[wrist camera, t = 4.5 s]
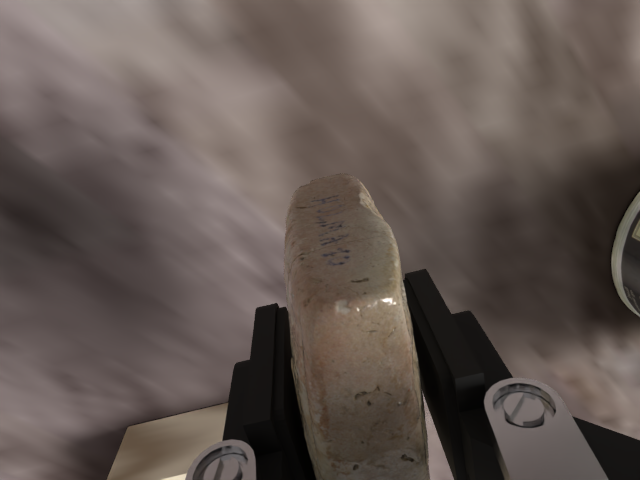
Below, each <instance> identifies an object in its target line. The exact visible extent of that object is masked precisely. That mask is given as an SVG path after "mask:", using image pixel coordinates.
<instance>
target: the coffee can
mask: <svg viewBox="0 0 640 480" xmlns="http://www.w3.org/2000/svg"><path fill="white" fill-rule="evenodd" d="M611 269H612V277H613V281H614V285H615V287H616V290H617V292H618V295H619V296H620V298H621V300H622V301H623V302H624V303H625V305H626V306H627V307H628V308H629V309H630V310H631V311H633V312H634V313H635V314H637V315H638V316H639V317H640V192H639V193H638V194H637V195H636V197H635V198H634V200H633V201H632V203H631V204H630V206H629V207H628V209H627V211H626V213H625V215H624V217H623V219H622V221H621V223H620V225H619V227H618V229H617V233H616V238H615V241H614V245H613V249H612V257H611Z"/></svg>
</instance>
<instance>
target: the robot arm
mask: <svg viewBox="0 0 640 480" xmlns="http://www.w3.org/2000/svg"><path fill="white" fill-rule="evenodd" d="M403 284H404V288H405V292H406V297H407V304H408V308H409V312H410V316H411V321H412V327H413V335H414V342H415V346H416V352H417V357H418V365H419V373H420V384H421V389H422V391H423V394H424V397H425V400H426V403H427V405H428V408H429V411H430V414H431V416H432V419H433V422H434V425H435V427H436V430H437V433H438V436H439V439H440V441H441V444H442V447H443V450H444V452H445V455H446V458H447V461H448V463H449V466H450V469H451V472H452V474H453V477H454V480H640V440H637V439H634V438H631V437H629V436H626V435H623V434H620V433H617V432H615V431H612V430H609V429H606V428H603V427H601V426H598V425H595V424H592V423H589V422H587V421H584V420H581V419H578V418H575V417H573V416H572V415H571V414H570V412H569V410H568V409H567V407H566V405H565V403H564V402H563V400H562V398H561V397H560V396H559V395H558V394H557V392H556V391H555V390H553V389H552V388H550V387H549V386H548V385H546V384H544V383H541V382H539V381H536V380H533V379H527V378H513V377H512V375H511V374H510V372H509V370H508V369H507V367H506V366H505V364H504V362H503V361H502V359H501V358H500V356H499V355H498V353H497V351H496V350H495V348H494V347H493V345H492V343H491V342H490V340H489V339H488V337H487V336H486V334H485V332H484V331H483V329H482V328H481V326H480V324H479V323H478V321H477V320H476V318H475V317H474V315H473V314H472V312H471V311H464V312H460V313H455V314H451V313H450V311H449V309H448V307H447V306H446V304H445V302H444V300H443V299H442V297H441V295H440V293H439V291H438V290H437V288H436V286H435V284H434V282H433V281H432V279H431V277H430V275H429V273H428V272H427V270H426V269H423V270H419V271H414V272H410V273H406V274H405V279H404V280H403ZM291 358H292V351H291V341H290V325H289V315H288V311H287V308H286V307H282V308H279V306H278V304H277V303H275V304H271V305H266V306H262V307H258V308H256V313H255V321H254V330H253V339H252V347H251V356H250V360H246V361H242V362H237V363H236V364H235V366H234V370H233V376H232V382H231V389H230V395H229V401H228V407H227V414H226V420H225V426H224V432H223V439H222V441H221V442H218V443H216V444H214V445H211V446H210V447H208V448H207V449H206V450H204V451H203V452H201V453H200V455H199V456H198V457H197V458H196V459H195V460H194V461H193V463H192V464H191V466H190V468H189V469H188V472H187V475H186V478H185V480H316V478H315V474H314V470H313V467H312V463H311V459H310V456H309V452H308V448H307V443H306V440H305V436H304V429H303V425H302V420H301V415H300V410H299V405H298V400H297V395H296V389H295V383H294V378H293V373H292V369H291Z"/></svg>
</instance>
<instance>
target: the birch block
mask: <svg viewBox="0 0 640 480" xmlns="http://www.w3.org/2000/svg"><path fill="white" fill-rule="evenodd" d="M227 407H228V403H224V404H220V405H216V406H212V407H208V408H204V409H200V410H195V411H191V412H187V413H183V414H179V415H175V416H170V417H166V418H162V419H158V420H154V421H150V422H145V423H141V424H137V425H133V426H129V427H128V428H127V430H126V433H125V435H124V438H123V440H122V443H121V445H120V448H119V450H118V453H117V455H116V458H115V460H114V463H113V465H112V468H111V470H110V473H109V475H108V478H107V480H185V478H186V475H187V472H188V469H189V468H190V466H191V464H192V463H193V461H194V460H195V459H196V458H197V457H198V456H199V455H200V453H201V452H203V451H204V450H206V449H207V448H208V447H210V446H211V445H214V444H216V443H218V442H221V441H222V439H223V432H224V426H225V420H226V414H227Z"/></svg>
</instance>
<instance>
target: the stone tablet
mask: <svg viewBox="0 0 640 480" xmlns="http://www.w3.org/2000/svg"><path fill="white" fill-rule="evenodd" d="M284 280H285V286H286V299H287V306H288V315H289V325H290V341H291V351H292V358H291V369H292V373H293V378H294V383H295V389H296V395H297V400H298V405H299V410H300V415H301V420H302V425H303V429H304V436H305V440H306V443H307V448H308V452H309V456H310V459H311V463H312V467H313V470H314V474H315V478H316V480H430V474H429V466H428V443H427V430H426V423H425V411H424V402H423V395H422V389H421V384H420V373H419V365H418V357H417V352H416V346H415V342H414V335H413V327H412V321H411V316H410V312H409V308H408V304H407V297H406V292H405V288H404V284H403V279H402V272H401V262H400V257H399V251H398V246H397V242H396V240H395V237H394V235H393V232H392V230H391V228H390V226H389V225H388V224H387V223H386V222H385V221H384V220H383V218H382V216H381V215H380V213H379V212H378V210H377V208H376V207H375V205H374V201H373V200H372V199H371V196H370V194H369V192H368V190H367V189H366V188H365V187H364V185H363V184H362V183H361V182H360V181H359V180H358V179H357V178H355V177H353V176H351V175H348V174H336V175H332V176H327V177H322V178H319V179H315V180H312V181H310V183H309V184H306V185H304V186H301V187H299V188H298V189H297V190H296V191H295V192H294V194H293V196H292V198H291V201H290V203H289V207H288V210H287V213H286V233H285V256H284Z"/></svg>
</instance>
